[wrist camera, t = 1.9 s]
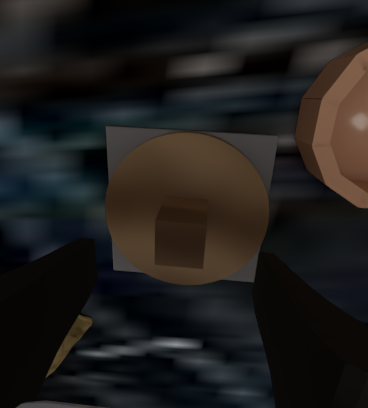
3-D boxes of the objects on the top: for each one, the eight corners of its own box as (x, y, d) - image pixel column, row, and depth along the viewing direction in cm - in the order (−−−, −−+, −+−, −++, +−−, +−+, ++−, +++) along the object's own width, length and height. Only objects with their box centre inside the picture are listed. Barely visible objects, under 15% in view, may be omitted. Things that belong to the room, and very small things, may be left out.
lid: (254, 282, 20) (266, 333, 16) (113, 269, 20) (88, 315, 16) (278, 136, 16) (303, 151, 12) (106, 126, 17) (71, 137, 13)
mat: (253, 278, 20) (254, 282, 20) (115, 266, 21) (113, 269, 20) (277, 135, 16) (278, 136, 16) (107, 125, 17) (105, 126, 17)
